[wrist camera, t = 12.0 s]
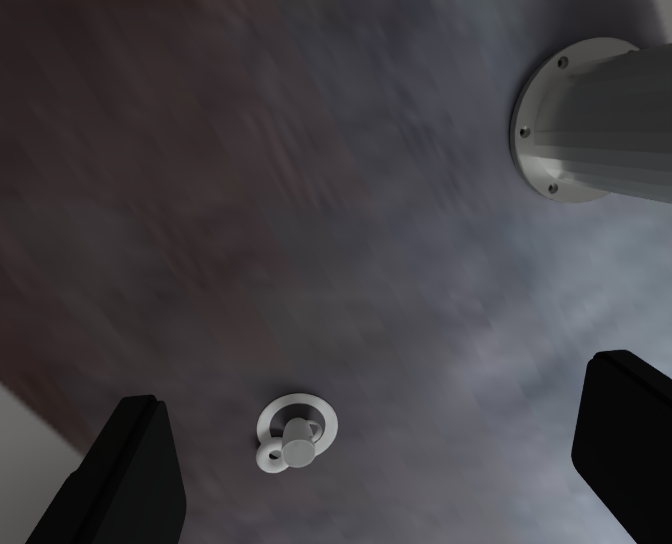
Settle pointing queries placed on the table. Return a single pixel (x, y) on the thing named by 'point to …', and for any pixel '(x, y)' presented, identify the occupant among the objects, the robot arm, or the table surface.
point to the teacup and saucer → (294, 435)
